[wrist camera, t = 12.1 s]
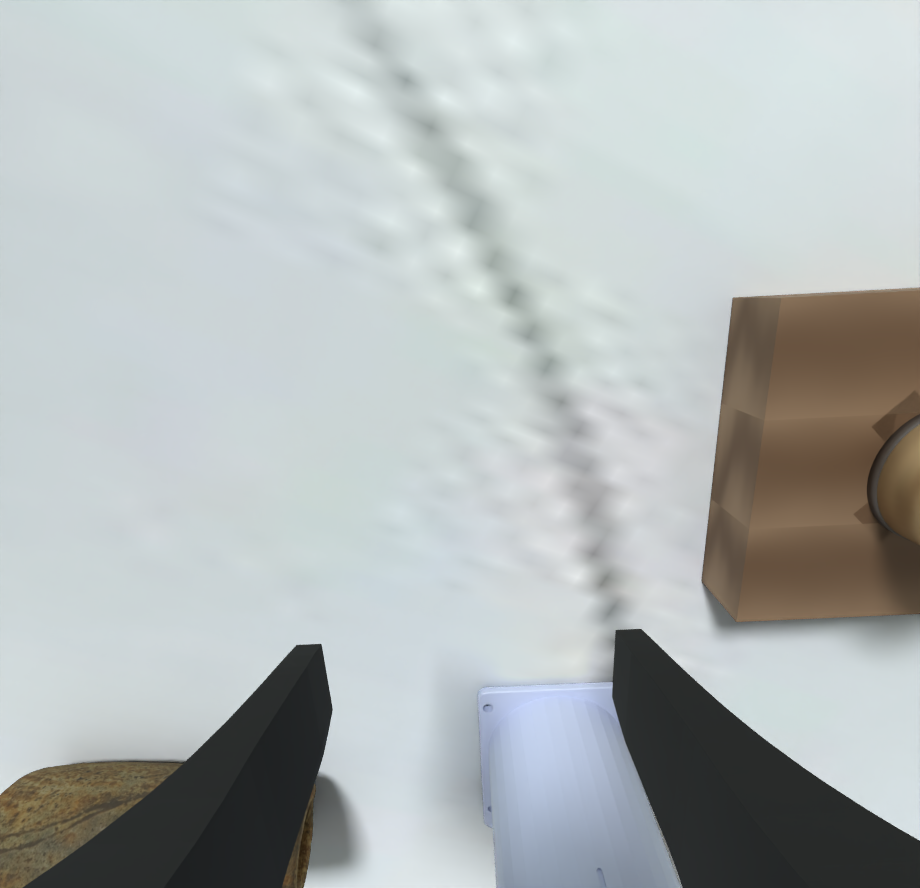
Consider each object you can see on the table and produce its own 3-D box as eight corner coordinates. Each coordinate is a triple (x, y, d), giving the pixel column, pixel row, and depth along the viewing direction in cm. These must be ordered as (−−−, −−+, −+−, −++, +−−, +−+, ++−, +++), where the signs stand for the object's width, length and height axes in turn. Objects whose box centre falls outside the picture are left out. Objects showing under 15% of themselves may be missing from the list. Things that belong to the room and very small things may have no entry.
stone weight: (74, 825, 28) (-41, 983, 21) (42, 731, 26) (-95, 875, 19) (331, 823, 28) (293, 981, 21) (320, 730, 26) (274, 872, 19)
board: (998, 567, 23) (1076, 607, 20) (701, 581, 23) (736, 621, 20) (1090, 278, 19) (1203, 274, 16) (732, 297, 19) (781, 297, 16)
